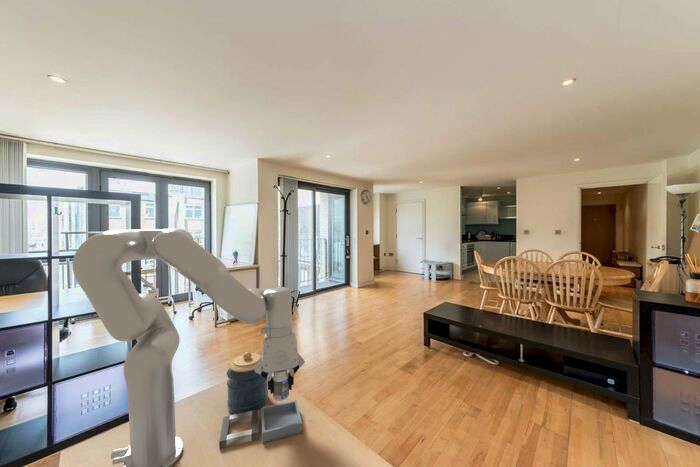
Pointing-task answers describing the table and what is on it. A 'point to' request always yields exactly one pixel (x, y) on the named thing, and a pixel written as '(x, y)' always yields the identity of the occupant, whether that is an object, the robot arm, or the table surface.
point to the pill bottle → (280, 385)
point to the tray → (280, 421)
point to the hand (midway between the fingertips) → (280, 388)
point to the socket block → (240, 436)
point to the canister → (246, 384)
